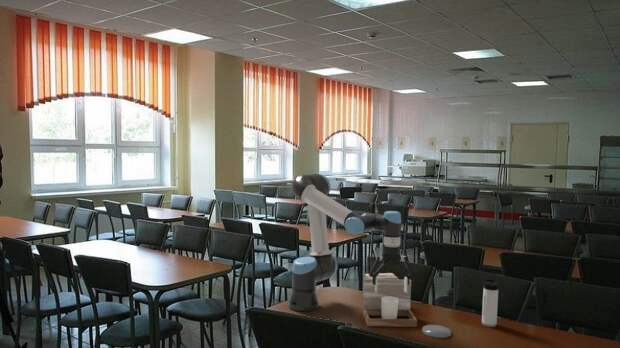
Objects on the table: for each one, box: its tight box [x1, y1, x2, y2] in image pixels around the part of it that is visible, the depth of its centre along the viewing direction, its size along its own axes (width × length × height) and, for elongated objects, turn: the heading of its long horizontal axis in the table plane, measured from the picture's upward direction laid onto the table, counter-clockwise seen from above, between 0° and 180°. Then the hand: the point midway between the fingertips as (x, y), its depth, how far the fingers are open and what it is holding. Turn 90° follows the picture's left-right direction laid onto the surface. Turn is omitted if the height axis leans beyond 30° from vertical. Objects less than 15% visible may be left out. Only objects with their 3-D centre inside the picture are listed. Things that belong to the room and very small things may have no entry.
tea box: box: [364, 272, 399, 280], centre depth 235 cm, size 15×10×15 cm
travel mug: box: [481, 278, 499, 328], centre depth 211 cm, size 6×7×20 cm
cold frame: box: [362, 278, 418, 328], centre depth 213 cm, size 15×22×17 cm
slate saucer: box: [421, 324, 452, 339], centre depth 201 cm, size 12×12×1 cm
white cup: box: [381, 296, 399, 319], centre depth 213 cm, size 8×8×10 cm
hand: (390, 291), depth 212 cm, fingers open, 13 cm apart
